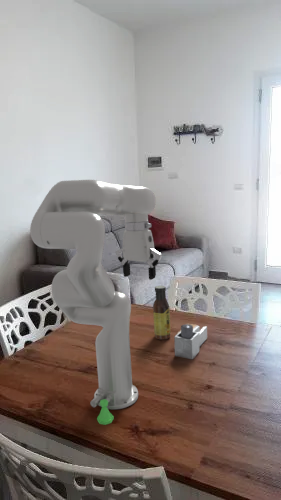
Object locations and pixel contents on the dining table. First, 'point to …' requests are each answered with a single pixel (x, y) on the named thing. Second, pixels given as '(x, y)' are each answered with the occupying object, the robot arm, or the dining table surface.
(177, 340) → the hinge base
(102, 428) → the dining table surface
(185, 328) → the pin
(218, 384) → the dining table surface
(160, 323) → the sauce bottle
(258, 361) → the dining table surface
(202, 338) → the leaf loose
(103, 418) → the game piece
